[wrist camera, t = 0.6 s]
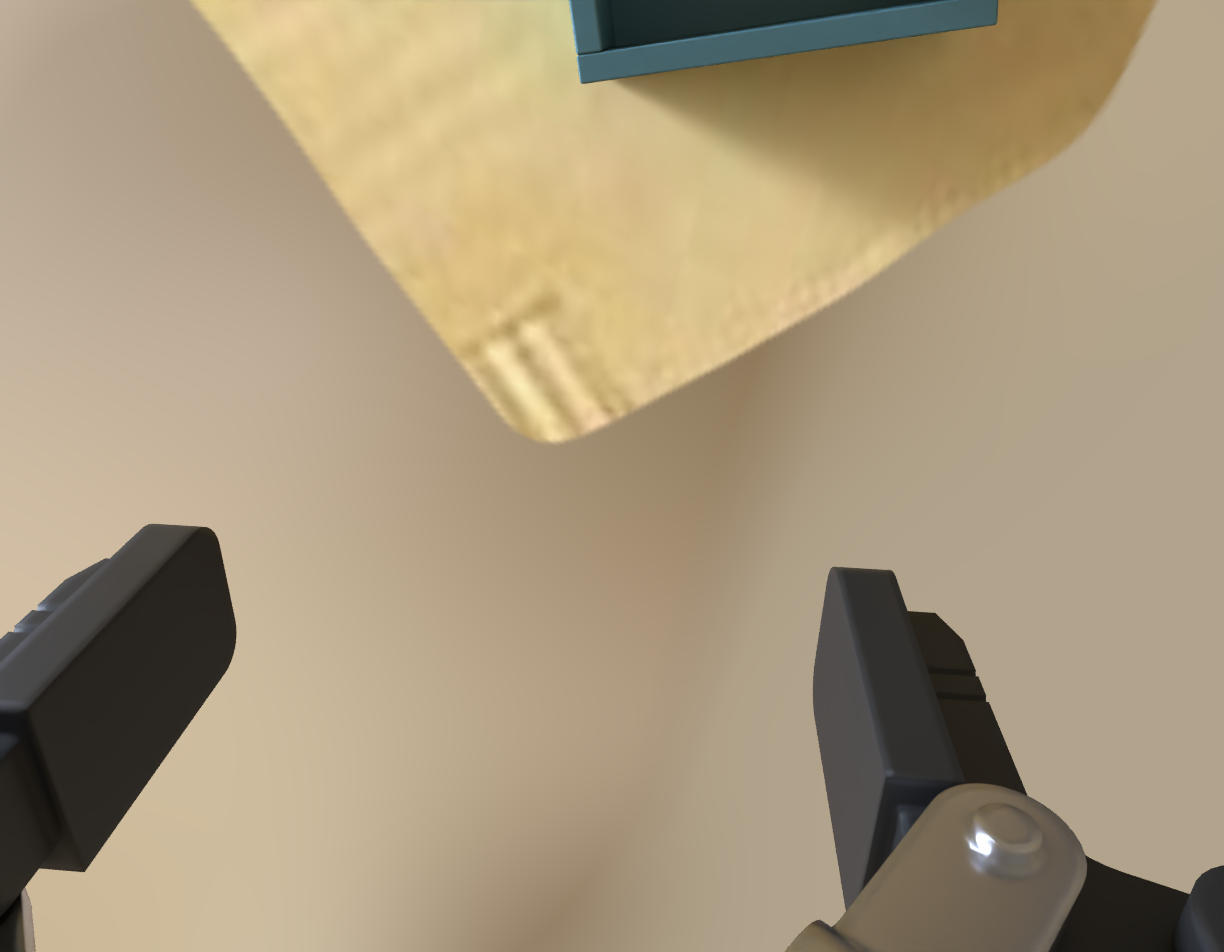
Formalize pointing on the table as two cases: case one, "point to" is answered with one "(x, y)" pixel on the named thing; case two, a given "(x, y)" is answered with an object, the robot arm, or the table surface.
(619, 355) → the table surface
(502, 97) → the table surface
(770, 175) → the table surface
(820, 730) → the robot arm
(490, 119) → the table surface
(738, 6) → the crate
